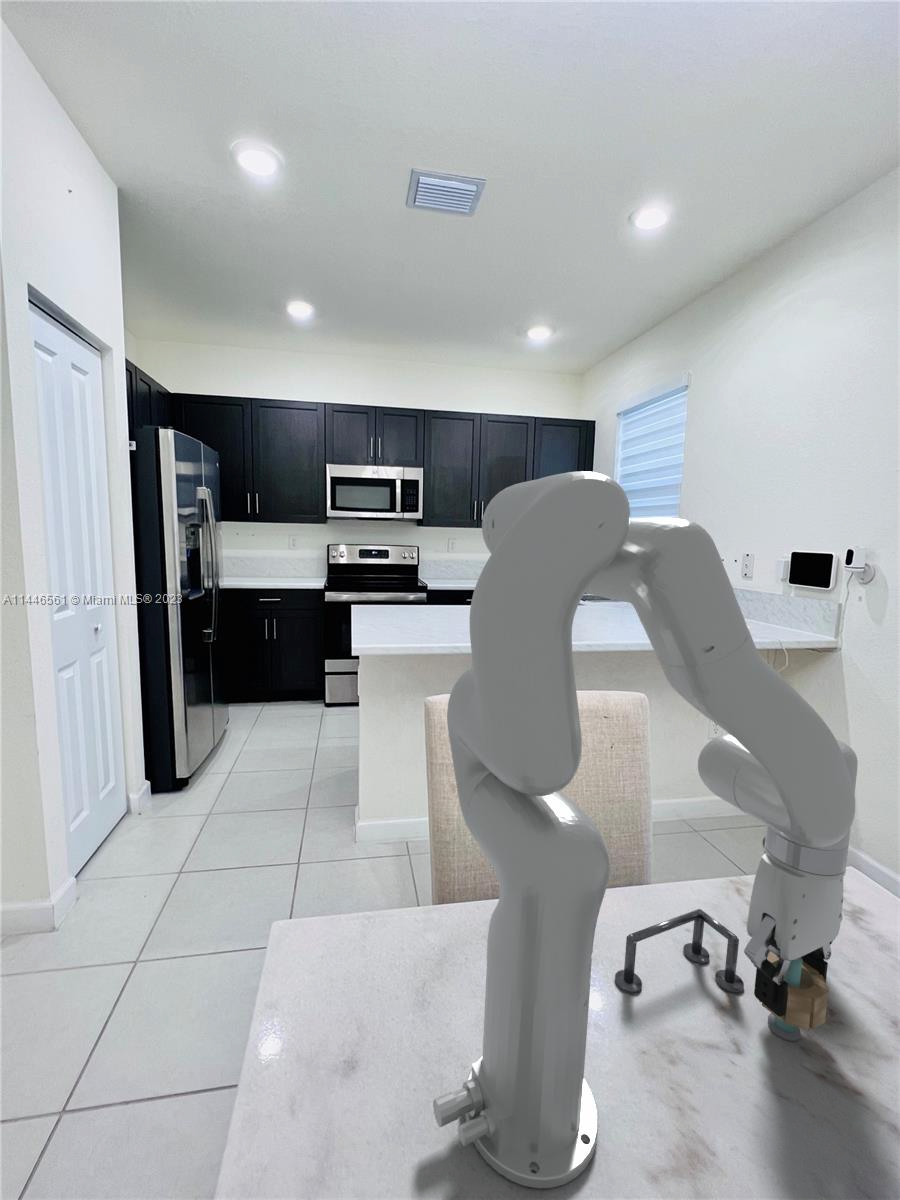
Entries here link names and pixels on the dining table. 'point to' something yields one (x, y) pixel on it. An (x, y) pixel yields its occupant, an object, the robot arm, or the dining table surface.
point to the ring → (804, 998)
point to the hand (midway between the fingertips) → (789, 994)
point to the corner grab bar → (691, 950)
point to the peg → (781, 1027)
